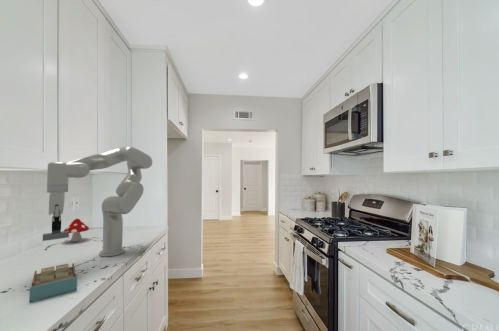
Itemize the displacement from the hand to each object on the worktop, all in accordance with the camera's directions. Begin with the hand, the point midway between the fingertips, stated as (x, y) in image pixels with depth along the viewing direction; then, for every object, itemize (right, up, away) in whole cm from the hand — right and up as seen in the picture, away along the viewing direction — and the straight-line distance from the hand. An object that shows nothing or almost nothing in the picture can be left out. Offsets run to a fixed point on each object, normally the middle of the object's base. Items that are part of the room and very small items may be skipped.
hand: (56, 229), depth 105 cm
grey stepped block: (0, -4, 0) cm, 4 cm away
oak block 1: (+7, -17, -12) cm, 22 cm away
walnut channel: (+7, -19, -9) cm, 22 cm away
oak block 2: (+10, -17, -9) cm, 22 cm away
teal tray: (+15, -18, -18) cm, 30 cm away
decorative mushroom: (-27, -21, +48) cm, 59 cm away
